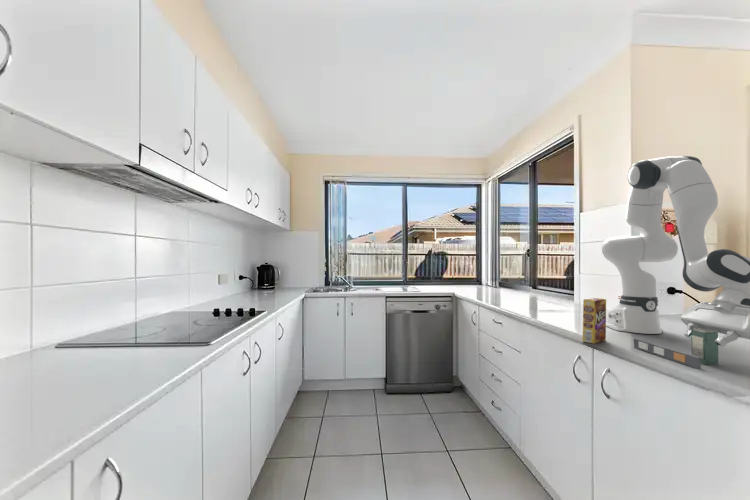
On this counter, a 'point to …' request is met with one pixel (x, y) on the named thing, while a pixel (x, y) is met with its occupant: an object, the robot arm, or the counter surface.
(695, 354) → the tea tin
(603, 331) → the candy box
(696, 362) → the rail
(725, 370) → the counter surface
